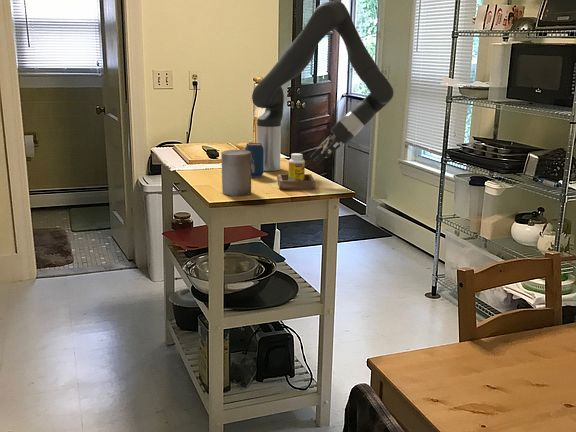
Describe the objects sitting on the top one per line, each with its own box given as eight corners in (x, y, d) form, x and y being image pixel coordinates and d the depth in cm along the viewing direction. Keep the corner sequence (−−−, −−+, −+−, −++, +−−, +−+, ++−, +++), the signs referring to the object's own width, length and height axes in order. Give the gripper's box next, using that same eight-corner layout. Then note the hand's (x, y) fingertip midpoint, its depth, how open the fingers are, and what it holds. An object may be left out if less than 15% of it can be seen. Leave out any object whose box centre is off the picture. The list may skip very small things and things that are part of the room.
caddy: (277, 182, 225) (277, 174, 225) (310, 182, 226) (311, 174, 225) (279, 189, 214) (280, 181, 213) (315, 189, 215) (315, 181, 214)
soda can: (261, 173, 240) (261, 142, 237) (265, 177, 234) (265, 145, 231) (243, 174, 239) (243, 142, 236) (246, 178, 232) (246, 145, 229)
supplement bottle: (294, 185, 216) (294, 155, 213) (285, 182, 221) (285, 153, 218) (307, 183, 219) (308, 154, 216) (298, 180, 224) (299, 152, 221)
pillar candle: (251, 189, 213) (251, 145, 210) (251, 196, 204) (250, 150, 200) (223, 189, 213) (221, 145, 209) (221, 196, 204) (219, 150, 200)
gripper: (336, 117, 222) (304, 150, 224) (343, 122, 208) (308, 157, 210) (351, 133, 224) (318, 165, 226) (358, 138, 210) (323, 172, 212)
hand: (313, 161), depth 218 cm, fingers open, 8 cm apart
